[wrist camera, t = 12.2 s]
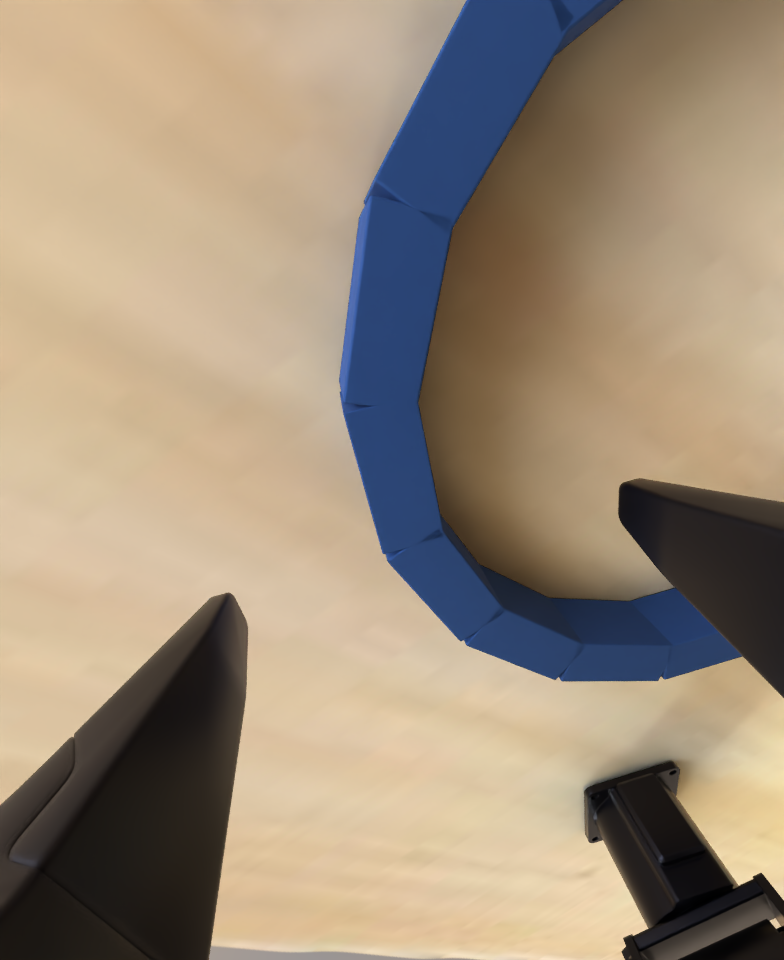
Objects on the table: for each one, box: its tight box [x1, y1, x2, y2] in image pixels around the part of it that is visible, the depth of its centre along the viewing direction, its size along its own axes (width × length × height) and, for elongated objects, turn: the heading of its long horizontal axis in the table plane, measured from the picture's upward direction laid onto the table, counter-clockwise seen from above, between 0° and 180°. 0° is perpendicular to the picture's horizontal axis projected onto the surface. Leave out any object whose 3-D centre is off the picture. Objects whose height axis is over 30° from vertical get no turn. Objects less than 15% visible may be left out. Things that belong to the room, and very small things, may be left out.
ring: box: [339, 0, 742, 681], centre depth 15 cm, size 27×27×3 cm
